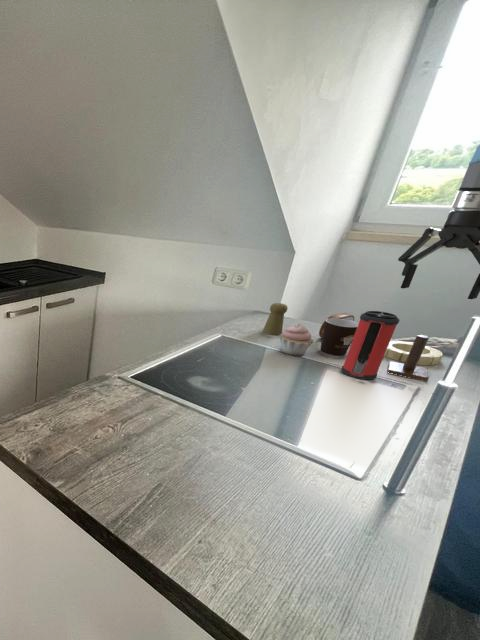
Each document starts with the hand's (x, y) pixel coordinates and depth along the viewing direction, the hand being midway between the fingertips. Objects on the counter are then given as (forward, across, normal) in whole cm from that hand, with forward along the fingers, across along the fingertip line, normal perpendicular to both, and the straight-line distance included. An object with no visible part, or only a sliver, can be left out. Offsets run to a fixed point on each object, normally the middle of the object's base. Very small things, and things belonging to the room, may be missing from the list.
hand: (436, 293), depth 106 cm
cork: (+22, -36, -5) cm, 43 cm away
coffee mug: (+22, -15, -5) cm, 27 cm away
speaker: (+22, -3, -17) cm, 28 cm away
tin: (+22, -24, +9) cm, 34 cm away
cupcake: (+22, -21, -17) cm, 35 cm away
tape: (+22, -4, +11) cm, 25 cm away
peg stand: (+22, +2, -4) cm, 23 cm away
